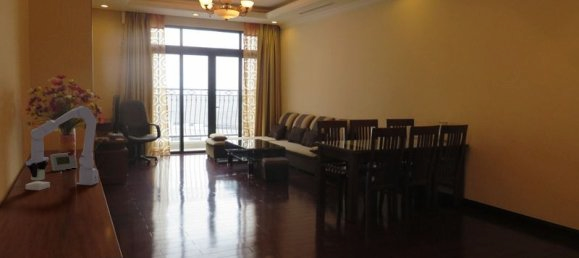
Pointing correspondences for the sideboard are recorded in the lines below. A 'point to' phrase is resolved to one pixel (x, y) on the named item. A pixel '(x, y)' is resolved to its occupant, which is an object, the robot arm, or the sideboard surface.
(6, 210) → the sideboard surface
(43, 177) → the green block
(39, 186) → the grey base
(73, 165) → the digital clock
